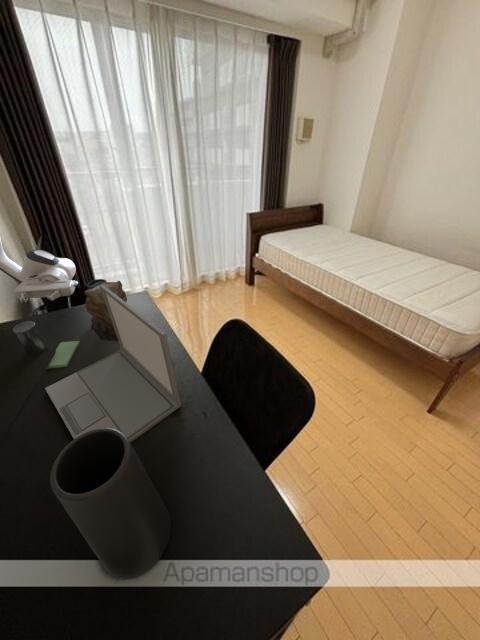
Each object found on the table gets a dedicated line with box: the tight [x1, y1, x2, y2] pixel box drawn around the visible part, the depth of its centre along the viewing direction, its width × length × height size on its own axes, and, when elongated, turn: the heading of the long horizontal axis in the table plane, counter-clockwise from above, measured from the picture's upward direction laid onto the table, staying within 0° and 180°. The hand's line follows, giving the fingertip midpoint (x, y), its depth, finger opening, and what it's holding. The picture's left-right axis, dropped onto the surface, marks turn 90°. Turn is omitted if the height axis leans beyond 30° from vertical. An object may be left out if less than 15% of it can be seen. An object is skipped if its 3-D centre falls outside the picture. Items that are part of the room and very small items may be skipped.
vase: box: [49, 428, 172, 580], centre depth 49 cm, size 14×14×29 cm
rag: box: [45, 340, 81, 370], centre depth 101 cm, size 7×13×1 cm, turn 6°
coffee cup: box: [86, 278, 108, 290], centre depth 118 cm, size 8×8×15 cm
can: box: [12, 320, 49, 357], centre depth 99 cm, size 6×6×12 cm
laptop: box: [44, 285, 182, 444], centre depth 77 cm, size 35×26×27 cm
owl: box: [83, 280, 128, 342], centre depth 106 cm, size 13×13×20 cm
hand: (36, 300), depth 103 cm, fingers open, 8 cm apart
